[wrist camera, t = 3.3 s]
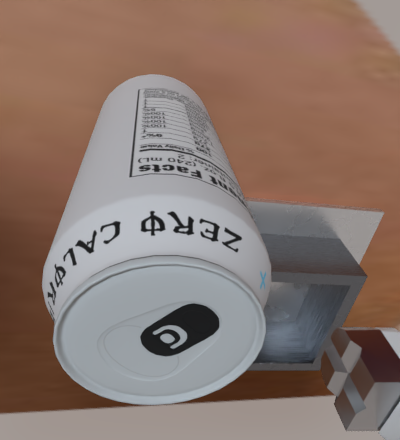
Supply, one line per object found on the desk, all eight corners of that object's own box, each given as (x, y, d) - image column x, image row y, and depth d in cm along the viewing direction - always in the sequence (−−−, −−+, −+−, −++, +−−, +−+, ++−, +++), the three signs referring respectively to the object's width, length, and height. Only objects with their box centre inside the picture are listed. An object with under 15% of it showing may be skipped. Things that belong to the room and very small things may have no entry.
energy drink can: (76, 116, 20) (-42, 340, 8) (164, 44, 19) (193, 177, 6) (147, 192, 23) (145, 442, 11) (227, 136, 22) (333, 348, 9)
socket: (180, 187, 24) (187, 231, 20) (376, 205, 27) (419, 247, 22) (158, 336, 31) (160, 391, 27) (314, 338, 34) (337, 389, 30)
